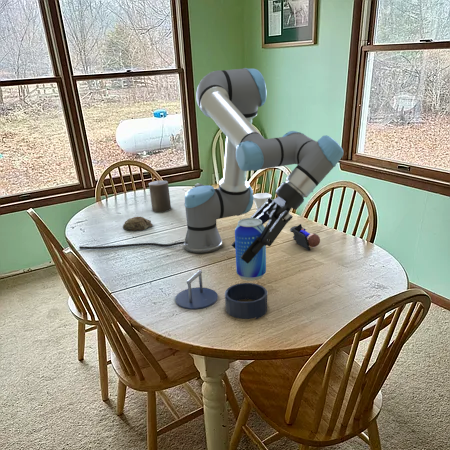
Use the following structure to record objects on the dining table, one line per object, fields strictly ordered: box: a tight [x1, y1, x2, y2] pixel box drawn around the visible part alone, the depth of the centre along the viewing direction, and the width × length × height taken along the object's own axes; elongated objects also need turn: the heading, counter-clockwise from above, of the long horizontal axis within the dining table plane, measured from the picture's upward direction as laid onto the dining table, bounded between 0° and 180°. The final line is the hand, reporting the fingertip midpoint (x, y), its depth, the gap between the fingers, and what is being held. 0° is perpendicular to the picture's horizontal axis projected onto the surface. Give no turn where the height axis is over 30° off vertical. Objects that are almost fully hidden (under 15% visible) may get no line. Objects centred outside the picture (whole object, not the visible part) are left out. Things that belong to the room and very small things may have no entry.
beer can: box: [234, 217, 267, 282], centre depth 122 cm, size 8×8×16 cm
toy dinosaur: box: [191, 182, 205, 189], centre depth 231 cm, size 22×8×11 cm, turn 5°
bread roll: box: [122, 216, 154, 232], centre depth 203 cm, size 13×12×5 cm
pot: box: [224, 282, 268, 320], centre depth 131 cm, size 12×12×6 cm
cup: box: [253, 192, 272, 211], centre depth 206 cm, size 9×9×10 cm
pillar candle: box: [148, 180, 172, 213], centre depth 222 cm, size 10×10×15 cm
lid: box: [174, 269, 219, 310], centre depth 137 cm, size 13×13×9 cm
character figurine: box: [289, 223, 321, 252], centre depth 172 cm, size 8×7×15 cm
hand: (239, 254), depth 122 cm, fingers closed on beer can, 8 cm apart
